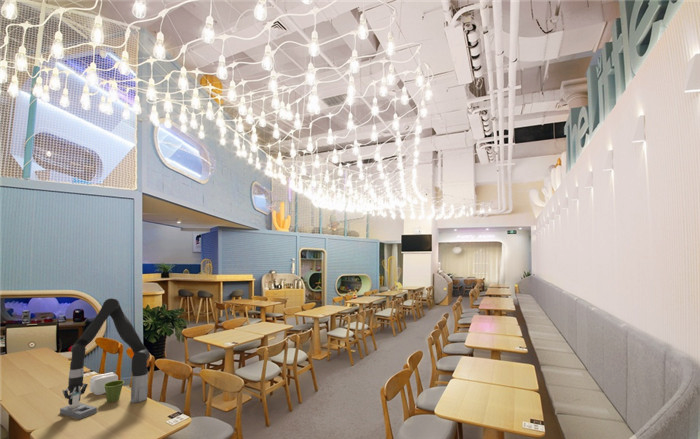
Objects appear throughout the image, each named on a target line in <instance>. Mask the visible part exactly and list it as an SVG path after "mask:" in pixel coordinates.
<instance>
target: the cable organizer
mask: <svg viewBox="0 0 700 439" xmlns="http://www.w3.org/2000/svg"><path fill="white" fill-rule="evenodd" d="M117 380H119V376H118V375H117V374H116V373H115V372H112V371H111V372H107V373H101V374H96V375H93V376H91V377H90V381H89V391H90V392H91V393H93V394H94V395H96V396H97V395H98V396H100V395H103V394H106V391H105V387H104V384H106V383H108V382H111V381H117Z"/></svg>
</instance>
